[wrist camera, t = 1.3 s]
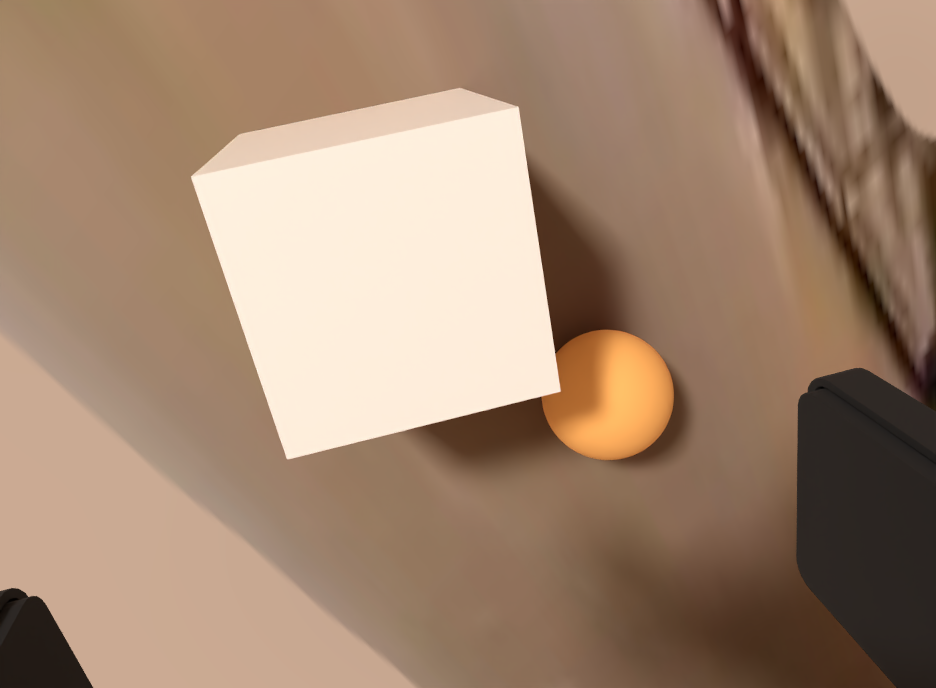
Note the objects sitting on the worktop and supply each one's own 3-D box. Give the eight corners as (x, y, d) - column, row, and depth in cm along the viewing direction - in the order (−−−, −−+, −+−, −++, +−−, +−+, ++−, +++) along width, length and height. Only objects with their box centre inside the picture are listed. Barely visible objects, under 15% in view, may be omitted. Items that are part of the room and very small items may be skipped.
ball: (637, 299, 29) (693, 345, 25) (647, 405, 31) (701, 466, 27) (519, 327, 29) (553, 380, 24) (537, 433, 31) (571, 500, 26)
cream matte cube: (459, 87, 25) (518, 106, 17) (496, 293, 28) (560, 391, 20) (239, 134, 24) (191, 177, 16) (301, 339, 27) (287, 459, 19)
